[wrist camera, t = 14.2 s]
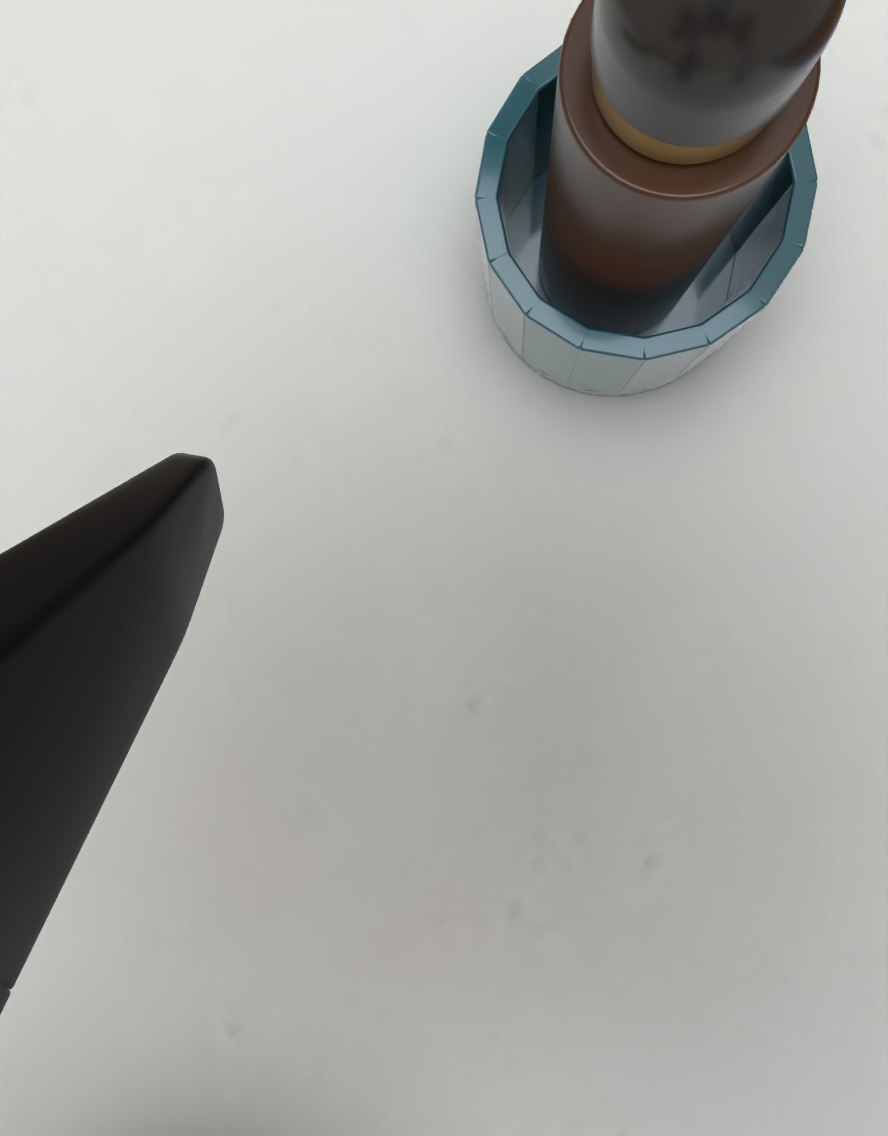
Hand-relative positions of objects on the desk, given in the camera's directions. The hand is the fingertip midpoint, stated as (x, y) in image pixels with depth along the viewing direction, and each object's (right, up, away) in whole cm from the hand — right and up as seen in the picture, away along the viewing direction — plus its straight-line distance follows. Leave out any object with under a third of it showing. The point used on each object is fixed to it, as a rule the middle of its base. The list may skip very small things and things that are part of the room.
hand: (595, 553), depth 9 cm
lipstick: (+3, +8, +12) cm, 15 cm away
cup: (+3, +8, +13) cm, 16 cm away
